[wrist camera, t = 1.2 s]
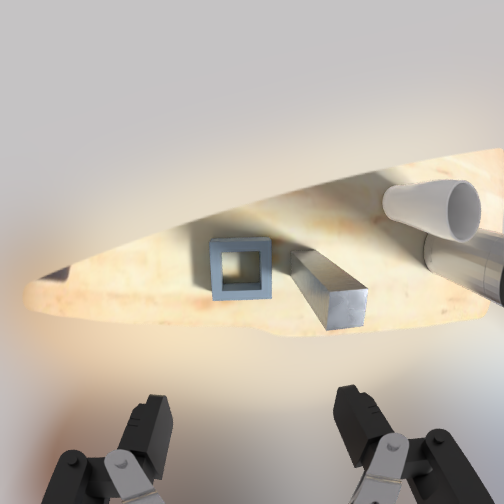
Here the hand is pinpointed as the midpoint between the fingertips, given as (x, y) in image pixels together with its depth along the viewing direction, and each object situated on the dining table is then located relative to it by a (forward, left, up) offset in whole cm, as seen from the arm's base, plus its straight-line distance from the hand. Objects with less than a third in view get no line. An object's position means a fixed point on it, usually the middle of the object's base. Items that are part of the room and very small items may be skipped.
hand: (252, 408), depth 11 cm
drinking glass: (-23, -8, -26) cm, 36 cm away
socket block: (0, 0, -26) cm, 26 cm away
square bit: (-8, 0, -26) cm, 27 cm away
